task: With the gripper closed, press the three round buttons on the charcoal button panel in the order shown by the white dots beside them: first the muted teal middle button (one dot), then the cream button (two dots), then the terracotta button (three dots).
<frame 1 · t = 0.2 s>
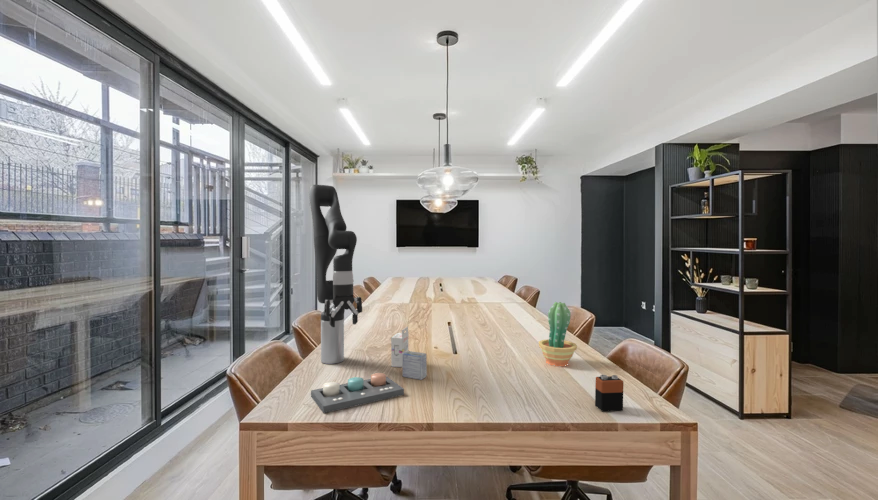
hand: (343, 325, 149), 17 cm above the table, tool pointing down, fingers open, 8 cm apart
ink cartridge box: (399, 364, 158), on the table
potted cactus: (557, 363, 161), on the table
battery: (608, 409, 118), on the table
button panel: (357, 395, 126), on the table
cream button: (331, 389, 123), point 3 cm above the table, slide at 0.0 cm
medicine box: (414, 377, 144), on the table
teal button: (355, 384, 127), point 3 cm above the table, slide at 0.0 cm
terracotta button: (378, 379, 132), point 3 cm above the table, slide at 0.0 cm
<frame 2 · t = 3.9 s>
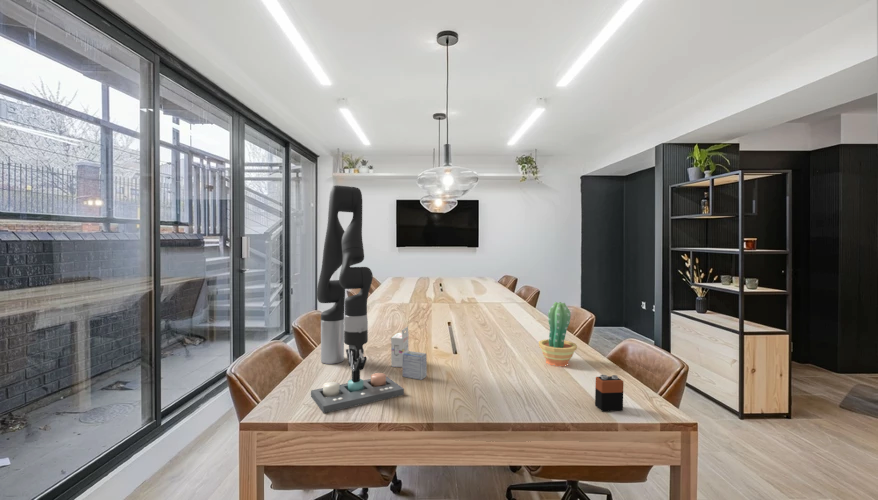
hand: (355, 381, 127), 4 cm above the table, tool pointing down, fingers closed
teal button: (355, 385, 127), point 3 cm above the table, slide at 0.5 cm, touching gripper
everything else where it was.
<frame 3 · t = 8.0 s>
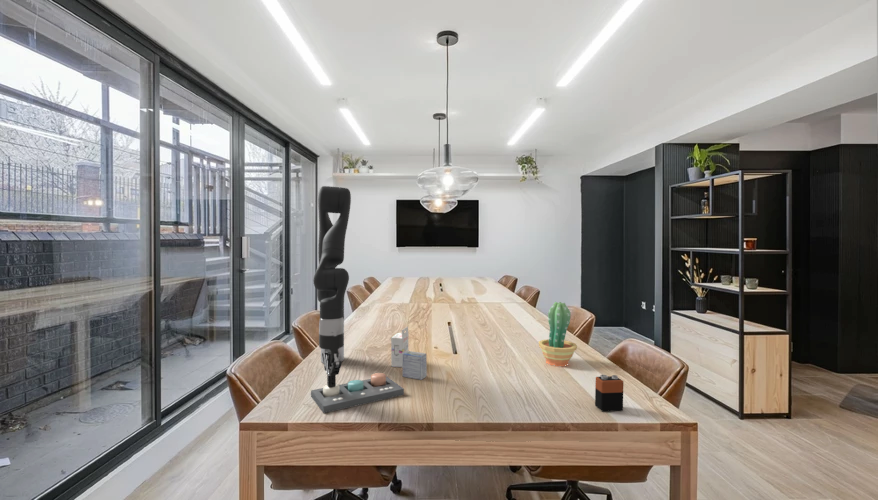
hand: (331, 386, 123), 4 cm above the table, tool pointing down, fingers closed
cream button: (331, 391, 123), point 2 cm above the table, slide at 0.6 cm, touching gripper
teal button: (355, 387, 127), point 2 cm above the table, slide at 0.9 cm
everything else where it was.
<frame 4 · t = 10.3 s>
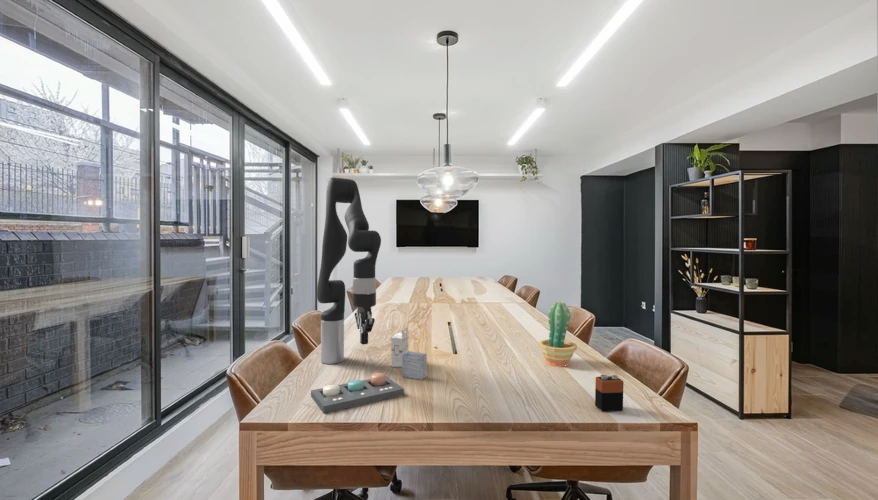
hand: (364, 343, 129), 16 cm above the table, tool pointing down, fingers closed
cream button: (331, 392, 123), point 2 cm above the table, slide at 0.9 cm
everything else where it was.
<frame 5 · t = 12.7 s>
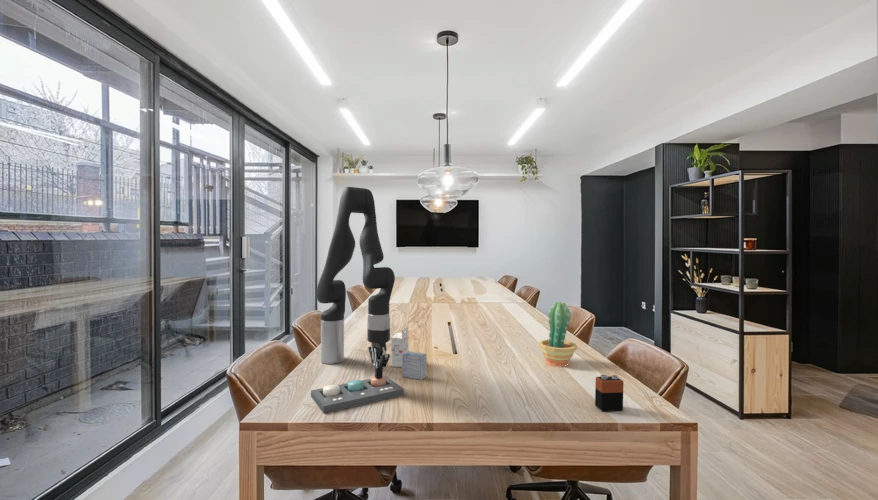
hand: (378, 378, 132), 4 cm above the table, tool pointing down, fingers closed
terracotta button: (378, 382, 132), point 2 cm above the table, slide at 0.8 cm, touching gripper
everything else where it was.
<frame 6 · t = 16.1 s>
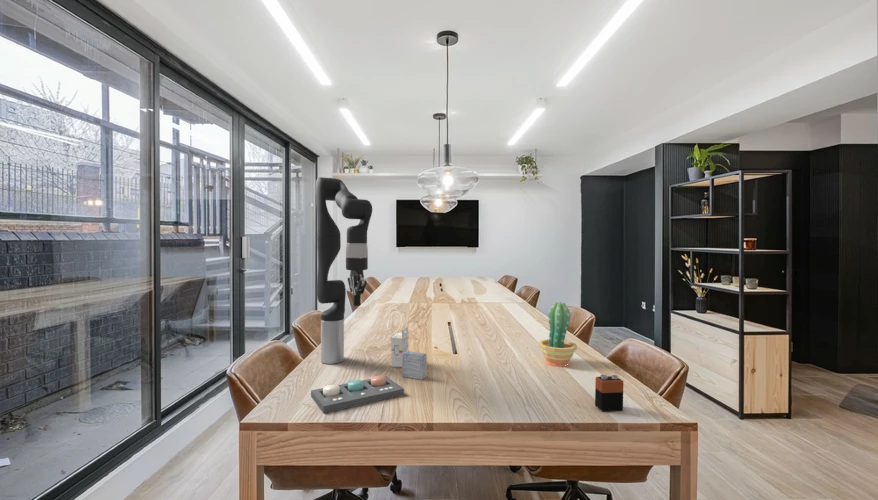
hand: (356, 305, 137), 27 cm above the table, tool pointing down, fingers closed
terracotta button: (378, 382, 132), point 2 cm above the table, slide at 0.9 cm
everything else where it was.
at the end: teal button slide at 0.9 cm; cream button slide at 0.9 cm; terracotta button slide at 0.9 cm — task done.
